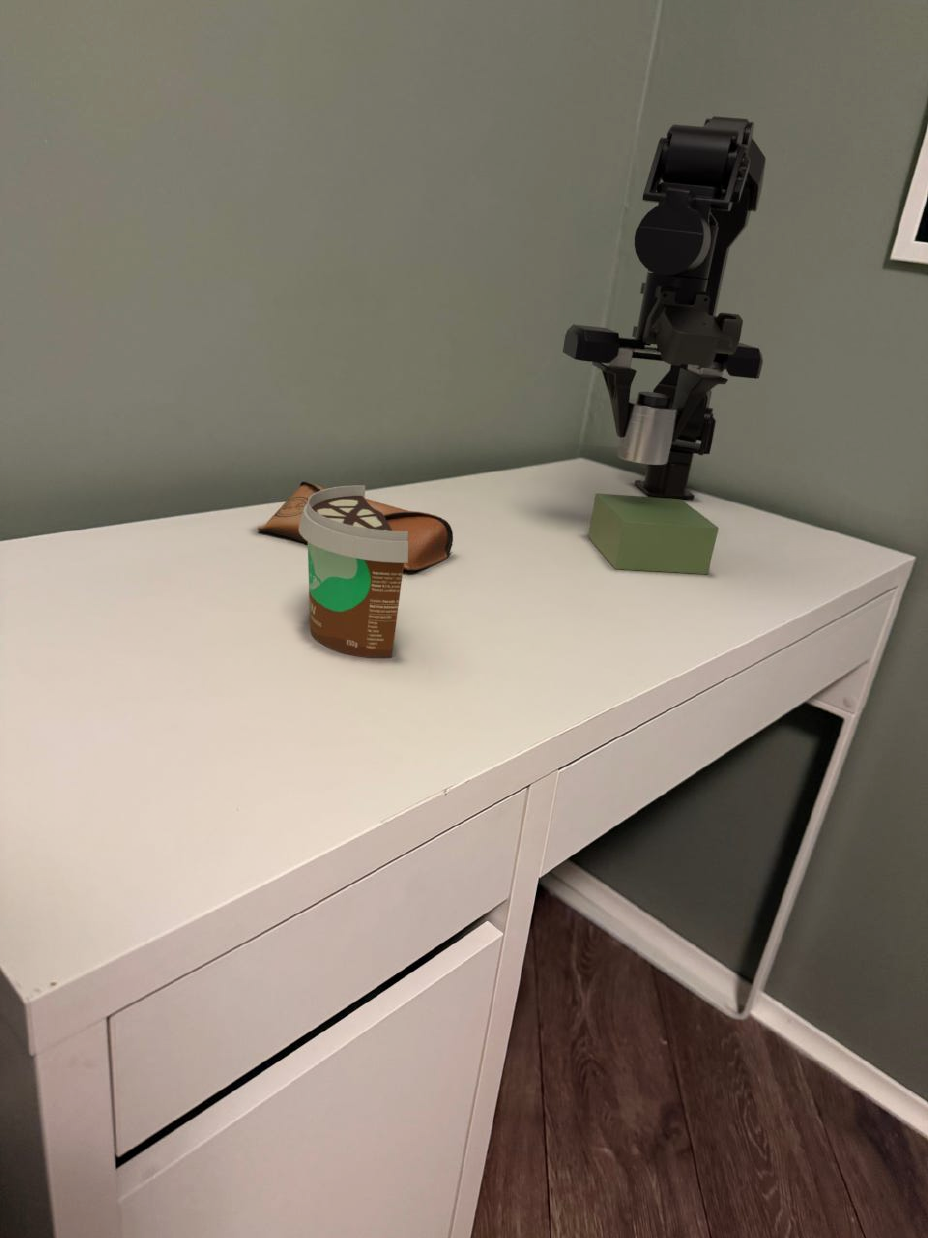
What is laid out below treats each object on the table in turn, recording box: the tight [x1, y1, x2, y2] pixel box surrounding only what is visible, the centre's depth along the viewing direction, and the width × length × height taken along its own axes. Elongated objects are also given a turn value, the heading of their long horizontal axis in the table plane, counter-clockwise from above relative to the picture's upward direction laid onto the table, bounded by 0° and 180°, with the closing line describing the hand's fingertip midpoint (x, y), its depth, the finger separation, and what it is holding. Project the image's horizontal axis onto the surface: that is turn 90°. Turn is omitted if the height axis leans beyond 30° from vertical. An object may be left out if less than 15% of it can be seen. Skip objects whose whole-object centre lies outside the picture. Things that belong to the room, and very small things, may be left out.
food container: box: [298, 484, 408, 659], centre depth 66 cm, size 12×6×10 cm, turn 21°
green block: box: [587, 492, 719, 575], centre depth 94 cm, size 10×10×5 cm
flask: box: [616, 391, 678, 465], centre depth 90 cm, size 5×5×6 cm
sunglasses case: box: [257, 481, 454, 572], centre depth 87 cm, size 18×7×7 cm
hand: (645, 438), depth 91 cm, fingers closed on flask, 5 cm apart
